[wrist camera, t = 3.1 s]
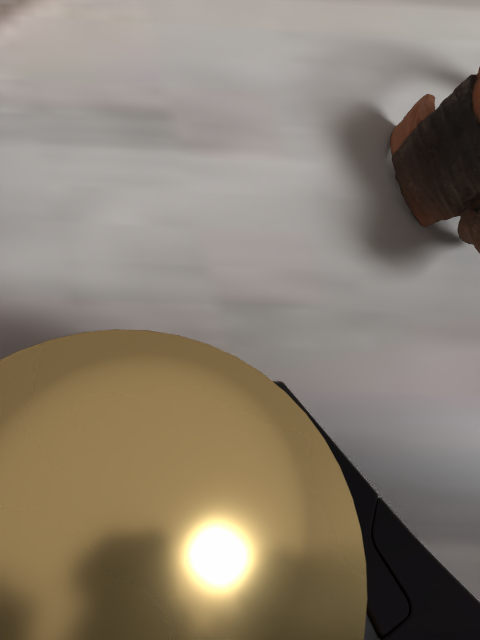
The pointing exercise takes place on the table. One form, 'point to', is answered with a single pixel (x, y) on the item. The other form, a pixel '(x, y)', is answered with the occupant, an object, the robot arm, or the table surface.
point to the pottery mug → (442, 159)
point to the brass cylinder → (168, 499)
